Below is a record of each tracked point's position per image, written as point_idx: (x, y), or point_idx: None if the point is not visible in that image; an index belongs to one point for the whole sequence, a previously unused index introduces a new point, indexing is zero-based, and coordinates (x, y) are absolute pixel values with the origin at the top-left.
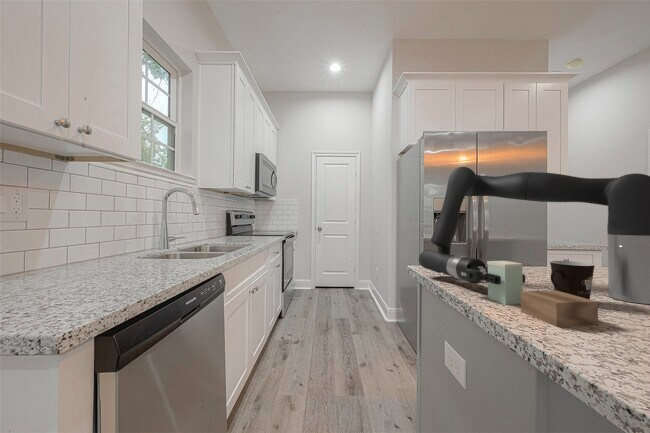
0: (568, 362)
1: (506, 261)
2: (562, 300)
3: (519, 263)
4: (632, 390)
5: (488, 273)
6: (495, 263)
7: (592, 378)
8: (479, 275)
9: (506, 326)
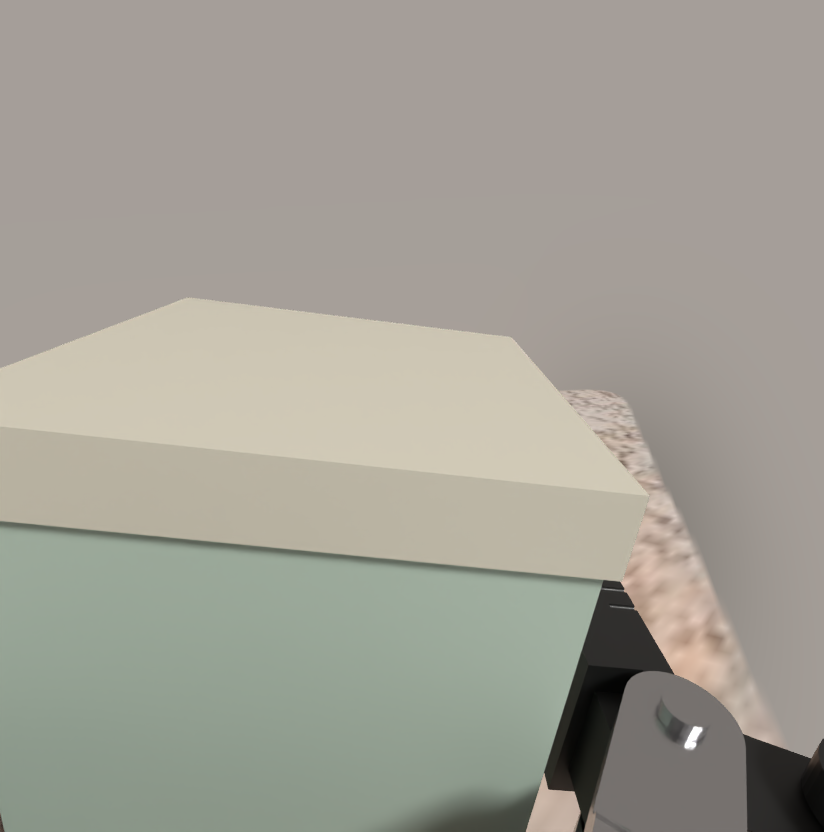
0: (623, 426)
1: (101, 369)
2: None
3: (202, 306)
4: (585, 393)
5: (609, 653)
6: (550, 400)
7: (621, 409)
8: (795, 770)
9: (673, 528)
